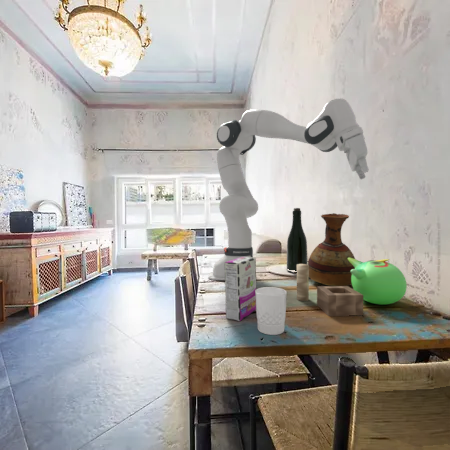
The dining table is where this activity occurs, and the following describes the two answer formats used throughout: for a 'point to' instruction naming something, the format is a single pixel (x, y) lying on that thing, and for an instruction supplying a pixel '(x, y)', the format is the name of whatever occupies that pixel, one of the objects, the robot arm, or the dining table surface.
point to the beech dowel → (302, 282)
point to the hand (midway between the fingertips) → (364, 175)
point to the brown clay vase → (331, 255)
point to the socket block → (339, 300)
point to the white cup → (271, 310)
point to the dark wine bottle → (296, 243)
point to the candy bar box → (240, 287)
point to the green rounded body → (378, 281)
